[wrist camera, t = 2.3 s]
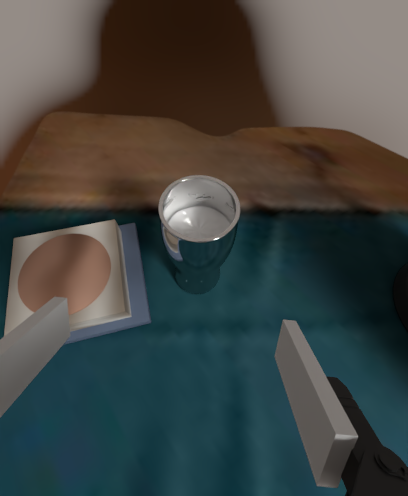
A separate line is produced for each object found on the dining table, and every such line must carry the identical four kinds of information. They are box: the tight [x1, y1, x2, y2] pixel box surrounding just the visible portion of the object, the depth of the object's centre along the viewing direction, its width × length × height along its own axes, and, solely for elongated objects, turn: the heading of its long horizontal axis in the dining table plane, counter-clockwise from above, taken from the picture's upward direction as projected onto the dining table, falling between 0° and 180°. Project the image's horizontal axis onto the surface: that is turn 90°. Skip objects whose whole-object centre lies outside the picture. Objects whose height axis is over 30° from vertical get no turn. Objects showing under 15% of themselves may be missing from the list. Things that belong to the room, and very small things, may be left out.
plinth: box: [4, 219, 132, 336], centre depth 29 cm, size 12×12×3 cm
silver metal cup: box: [158, 175, 240, 294], centre depth 26 cm, size 7×7×15 cm
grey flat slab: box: [63, 223, 151, 345], centre depth 31 cm, size 16×14×1 cm
